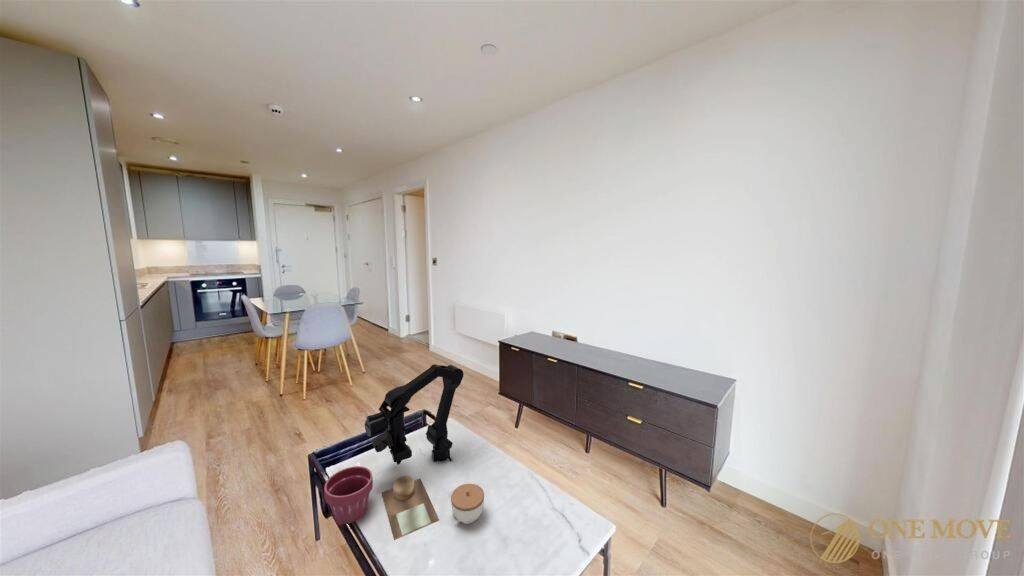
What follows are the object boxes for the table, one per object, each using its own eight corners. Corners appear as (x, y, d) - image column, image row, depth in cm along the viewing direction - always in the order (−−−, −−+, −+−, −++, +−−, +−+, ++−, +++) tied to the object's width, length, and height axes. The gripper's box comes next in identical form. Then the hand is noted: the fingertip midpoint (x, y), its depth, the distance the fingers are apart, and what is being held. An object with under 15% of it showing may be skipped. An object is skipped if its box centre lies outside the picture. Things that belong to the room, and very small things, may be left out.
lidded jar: (489, 508, 113) (489, 483, 112) (475, 534, 103) (475, 507, 102) (461, 500, 116) (460, 475, 115) (445, 524, 106) (444, 498, 105)
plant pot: (383, 508, 113) (381, 474, 111) (346, 541, 100) (343, 503, 99) (355, 493, 119) (353, 460, 118) (317, 522, 107) (314, 486, 105)
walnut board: (420, 481, 126) (420, 478, 125) (439, 523, 107) (439, 520, 107) (381, 495, 118) (381, 492, 118) (394, 543, 100) (394, 540, 100)
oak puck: (411, 483, 123) (411, 473, 122) (416, 495, 117) (416, 485, 116) (391, 490, 119) (391, 480, 119) (396, 503, 113) (395, 493, 113)
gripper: (369, 419, 126) (371, 456, 128) (377, 445, 110) (380, 487, 112) (399, 411, 132) (401, 447, 134) (411, 435, 116) (413, 475, 118)
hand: (398, 463), depth 124 cm, fingers closed
